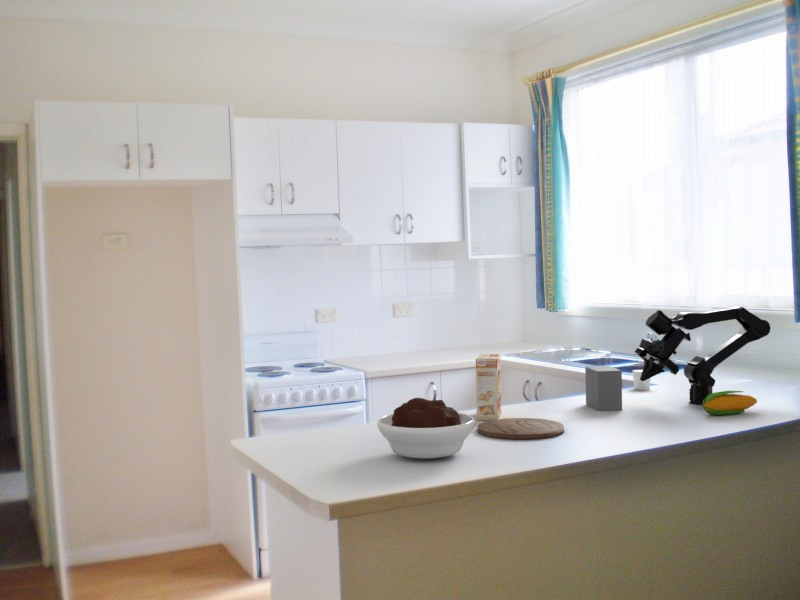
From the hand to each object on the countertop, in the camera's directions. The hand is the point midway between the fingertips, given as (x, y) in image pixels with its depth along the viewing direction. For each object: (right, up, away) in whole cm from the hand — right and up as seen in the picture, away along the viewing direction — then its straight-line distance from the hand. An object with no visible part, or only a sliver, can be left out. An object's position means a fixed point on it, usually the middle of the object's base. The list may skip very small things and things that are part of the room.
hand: (641, 380), depth 278 cm
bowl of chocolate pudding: (-74, -13, -65) cm, 100 cm away
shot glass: (+11, -7, +37) cm, 40 cm away
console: (-13, -9, -1) cm, 16 cm away
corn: (+23, -9, -18) cm, 30 cm away
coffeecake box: (-52, -11, -12) cm, 55 cm away
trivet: (-46, -12, -37) cm, 60 cm away
